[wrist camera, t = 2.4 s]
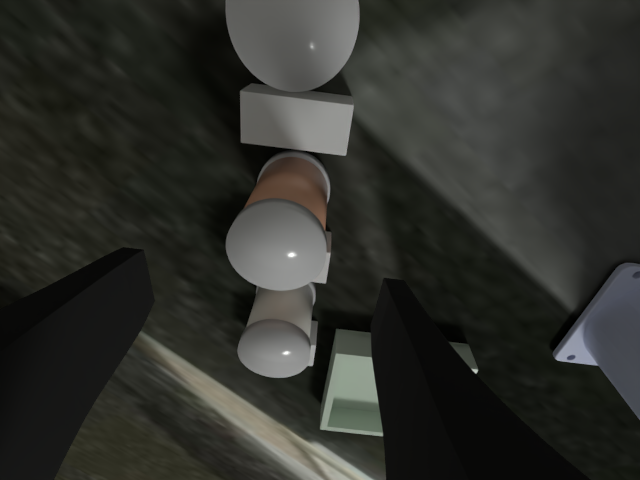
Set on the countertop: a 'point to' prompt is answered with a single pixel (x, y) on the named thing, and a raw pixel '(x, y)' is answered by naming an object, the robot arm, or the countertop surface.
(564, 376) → the countertop surface
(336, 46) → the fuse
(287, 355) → the cylinder
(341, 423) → the tray
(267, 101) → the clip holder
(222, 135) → the countertop surface
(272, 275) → the marked fuse
